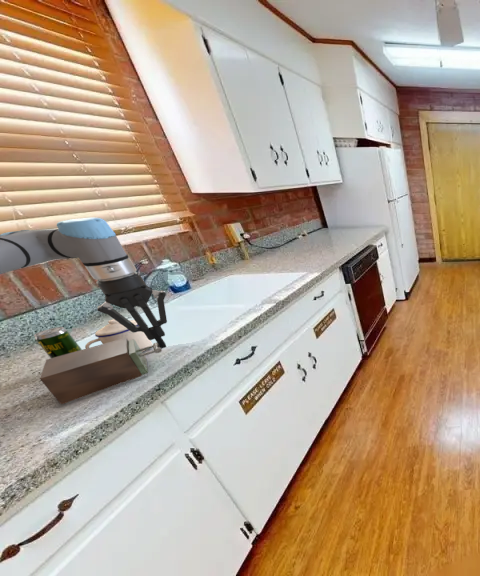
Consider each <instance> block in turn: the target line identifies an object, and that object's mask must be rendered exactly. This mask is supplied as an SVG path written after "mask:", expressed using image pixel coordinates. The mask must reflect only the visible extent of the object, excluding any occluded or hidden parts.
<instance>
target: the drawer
mask: <svg viewBox="0 0 480 576" xmlns="http://www.w3.org/2000/svg"><path fill="white" fill-rule="evenodd" d="M128 349H129V355H130V357H131V359H132V360H133V362H134V363H135V365H136V366H137V368H138V369H139V371H140V373H141V374H142V376H143V375H145V374H148V373H149V368H148V362H147V357H146V356H147V355H151V354H154V353H155V354H160V353H161V352H162V351H163V350H162V349H163V348H162V349H161V348H160V346H159V345H158V343H157V342H153V343H152V346H148V347H145V348H142V349H140V348H139V346H138V345H137V343H136V341H135V340H134V339H133V340H129V341H128ZM150 349H152V350H150ZM144 350H145V351H146V352H145V351H144ZM147 350H149V351H147ZM142 351H143V352H142Z"/></svg>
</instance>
